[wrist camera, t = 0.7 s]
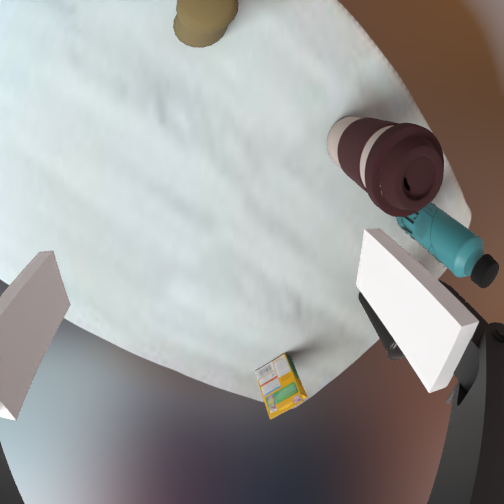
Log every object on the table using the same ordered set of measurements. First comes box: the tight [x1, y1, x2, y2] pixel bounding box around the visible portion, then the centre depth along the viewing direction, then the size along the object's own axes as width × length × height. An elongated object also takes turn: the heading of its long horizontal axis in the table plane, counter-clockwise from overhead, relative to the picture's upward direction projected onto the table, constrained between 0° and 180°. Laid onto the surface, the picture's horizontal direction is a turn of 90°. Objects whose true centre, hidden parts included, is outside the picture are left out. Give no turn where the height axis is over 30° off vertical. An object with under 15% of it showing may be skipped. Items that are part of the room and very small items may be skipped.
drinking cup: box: [359, 292, 405, 361], centre depth 47 cm, size 8×8×20 cm
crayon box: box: [255, 353, 307, 419], centre depth 55 cm, size 7×3×12 cm, turn 126°
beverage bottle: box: [397, 202, 499, 288], centre depth 39 cm, size 6×7×20 cm
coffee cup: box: [327, 116, 444, 217], centre depth 33 cm, size 10×10×15 cm
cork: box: [173, 0, 238, 47], centre depth 23 cm, size 6×6×11 cm
